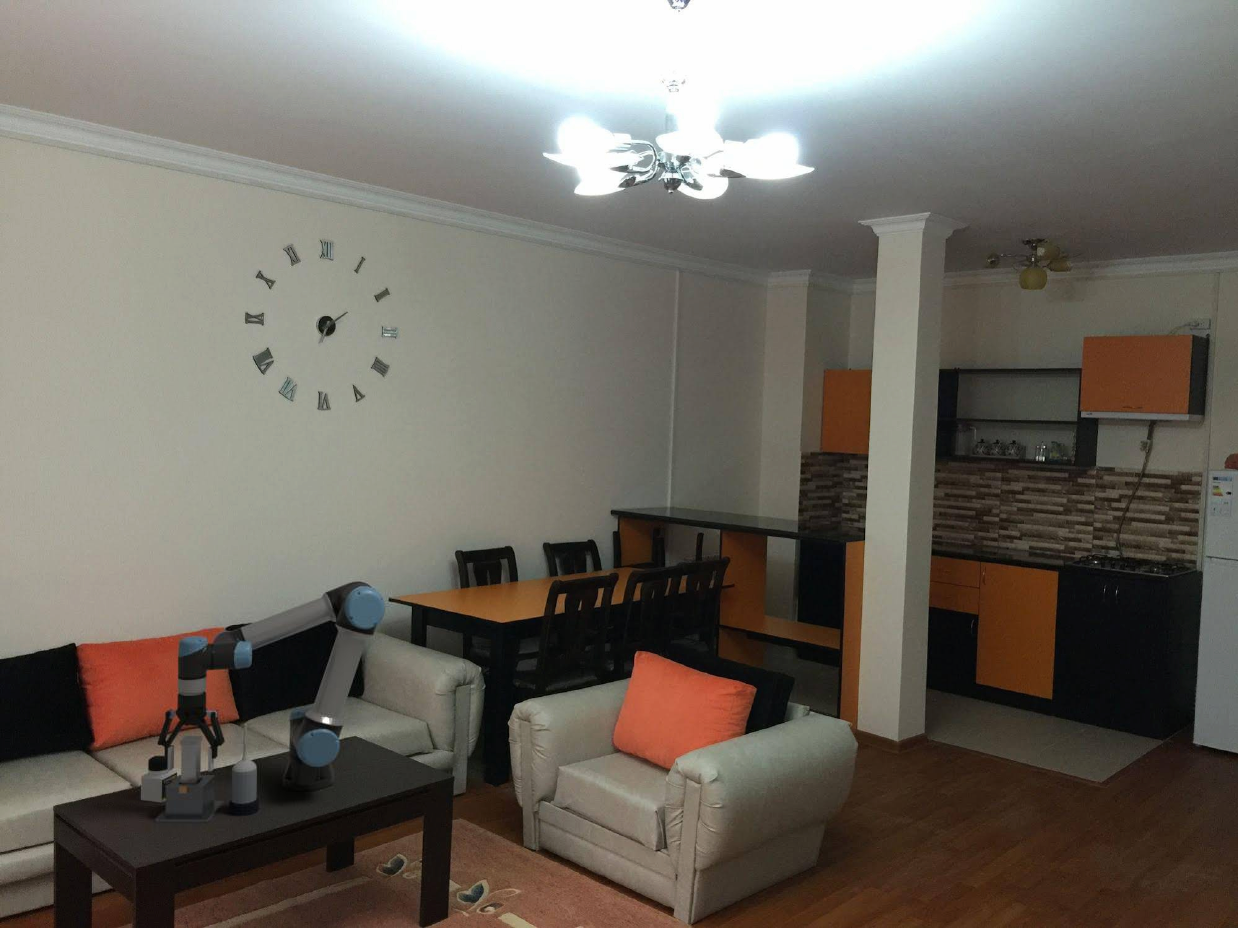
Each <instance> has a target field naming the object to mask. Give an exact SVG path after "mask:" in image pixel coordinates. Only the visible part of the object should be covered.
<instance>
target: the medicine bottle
mask: <svg viewBox="0 0 1238 928" xmlns="http://www.w3.org/2000/svg"><path fill="white" fill-rule="evenodd" d="M164 755H165V754H159V755H158V754H157V755H154V756H152V757H150V758H149V759H148V760H147V761H148V762H147V767H148V768H147V773H146V774H144V775H141V777H140V800H141V801H146V802H147V801H148V802H154V803H155V802H156V803H164V802H166V787H167V786H168V785H169V784H170V783H171V782H172V781H173V780H174V779H175V778H176V777H178V771H177V770H173V769H172V770H171V771H168V758H165V757H164Z"/></svg>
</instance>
